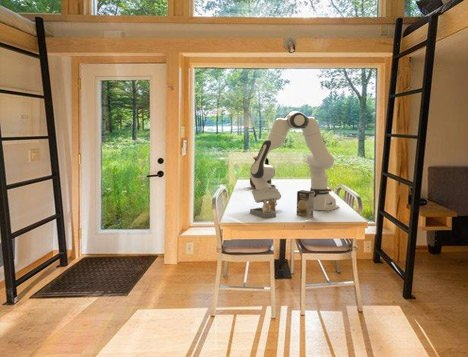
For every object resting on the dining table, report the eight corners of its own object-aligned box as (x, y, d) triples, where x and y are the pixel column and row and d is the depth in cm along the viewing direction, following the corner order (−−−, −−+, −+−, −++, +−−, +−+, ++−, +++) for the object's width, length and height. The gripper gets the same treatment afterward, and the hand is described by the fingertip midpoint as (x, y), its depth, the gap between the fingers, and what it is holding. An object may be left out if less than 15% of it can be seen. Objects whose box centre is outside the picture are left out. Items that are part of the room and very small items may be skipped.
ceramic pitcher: (245, 187, 338) (245, 155, 334) (260, 185, 351) (261, 154, 347) (260, 190, 323) (260, 157, 319) (275, 188, 336) (276, 155, 332)
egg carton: (260, 212, 239) (260, 207, 239) (275, 217, 226) (275, 212, 225) (250, 214, 235) (250, 209, 234) (264, 219, 221) (265, 214, 221)
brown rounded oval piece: (272, 211, 243) (272, 199, 242) (276, 212, 239) (276, 200, 238) (266, 212, 241) (266, 199, 240) (270, 213, 237) (271, 201, 236)
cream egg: (267, 214, 230) (267, 201, 229) (271, 216, 226) (271, 203, 225) (260, 215, 228) (261, 202, 227) (265, 217, 224) (265, 204, 223)
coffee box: (295, 216, 230) (296, 191, 228) (301, 214, 235) (302, 189, 232) (308, 218, 224) (308, 193, 222) (313, 216, 228) (314, 191, 226)
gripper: (252, 187, 238) (261, 204, 231) (277, 184, 249) (286, 201, 242) (248, 193, 243) (257, 210, 236) (273, 190, 253) (281, 206, 247)
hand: (272, 205), depth 239 cm, fingers closed on brown rounded oval piece, 5 cm apart
